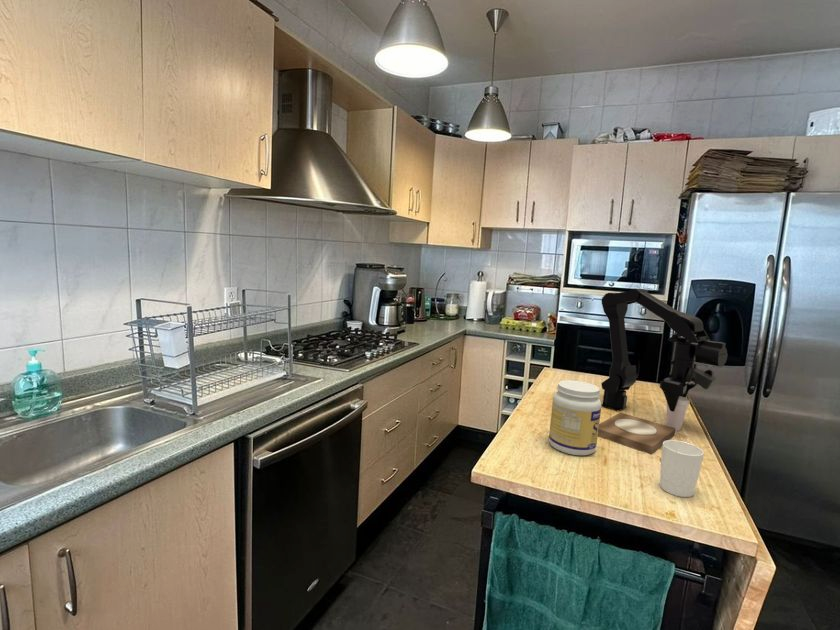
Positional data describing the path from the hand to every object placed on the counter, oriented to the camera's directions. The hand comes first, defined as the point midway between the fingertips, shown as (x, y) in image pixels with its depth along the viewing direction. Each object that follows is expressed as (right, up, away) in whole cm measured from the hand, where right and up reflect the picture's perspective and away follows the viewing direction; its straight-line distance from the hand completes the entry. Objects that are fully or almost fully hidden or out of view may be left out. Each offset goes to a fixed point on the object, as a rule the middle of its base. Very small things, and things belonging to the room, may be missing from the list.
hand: (676, 408), depth 138 cm
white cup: (-21, -11, -36) cm, 43 cm away
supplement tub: (-38, -7, -17) cm, 42 cm away
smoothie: (0, -7, +1) cm, 7 cm away
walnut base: (-16, -7, -6) cm, 18 cm away
